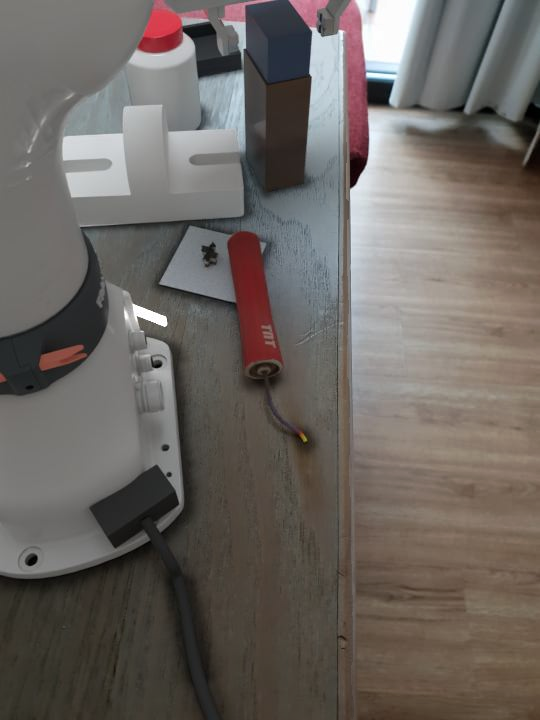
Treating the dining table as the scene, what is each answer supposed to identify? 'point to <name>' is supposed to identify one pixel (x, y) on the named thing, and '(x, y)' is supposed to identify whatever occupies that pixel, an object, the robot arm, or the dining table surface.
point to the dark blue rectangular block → (278, 40)
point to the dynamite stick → (255, 313)
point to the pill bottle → (166, 72)
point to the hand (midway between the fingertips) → (278, 42)
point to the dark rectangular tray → (210, 50)
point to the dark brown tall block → (276, 127)
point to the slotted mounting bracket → (153, 172)
